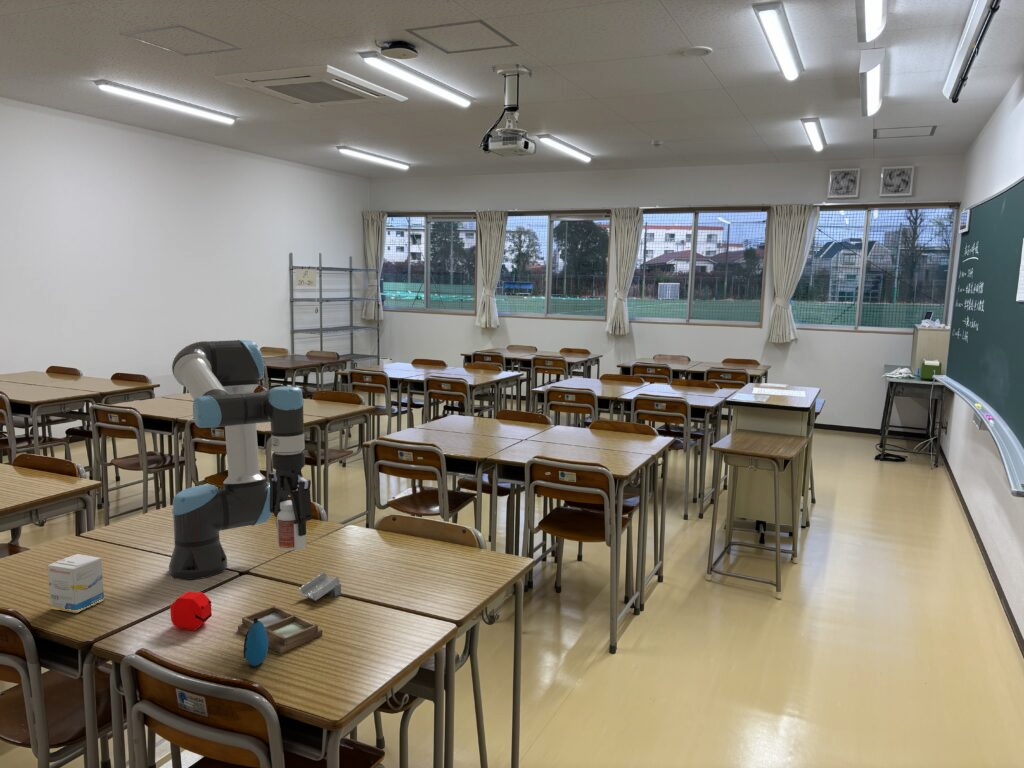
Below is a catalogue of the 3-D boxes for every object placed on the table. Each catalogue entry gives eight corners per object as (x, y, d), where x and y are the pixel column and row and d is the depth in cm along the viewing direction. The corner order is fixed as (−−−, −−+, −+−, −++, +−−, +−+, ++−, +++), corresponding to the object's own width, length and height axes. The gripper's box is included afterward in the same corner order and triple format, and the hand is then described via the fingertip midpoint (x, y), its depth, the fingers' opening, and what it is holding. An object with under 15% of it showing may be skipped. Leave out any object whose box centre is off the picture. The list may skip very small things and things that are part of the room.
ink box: (105, 601, 182) (102, 556, 180) (75, 615, 174) (72, 568, 172) (80, 596, 185) (77, 552, 183) (49, 609, 177) (46, 564, 175)
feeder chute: (299, 599, 184) (298, 580, 183) (326, 588, 190) (326, 570, 190) (313, 605, 180) (313, 586, 179) (341, 594, 187) (340, 576, 186)
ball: (197, 635, 164) (195, 603, 163) (165, 632, 165) (163, 601, 164) (217, 620, 172) (215, 589, 171) (186, 617, 173) (185, 587, 172)
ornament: (250, 653, 156) (248, 610, 155) (272, 652, 156) (270, 609, 155) (239, 673, 148) (237, 627, 146) (262, 672, 148) (261, 626, 147)
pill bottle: (308, 548, 173) (306, 503, 171) (282, 552, 169) (281, 507, 168) (300, 540, 178) (298, 497, 177) (275, 545, 174) (273, 501, 173)
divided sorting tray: (237, 630, 166) (237, 619, 166) (279, 614, 175) (278, 603, 175) (280, 653, 156) (280, 641, 156) (322, 634, 165) (322, 623, 164)
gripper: (251, 449, 174) (255, 541, 176) (299, 459, 162) (302, 558, 165) (278, 444, 180) (281, 533, 182) (326, 454, 168) (329, 549, 171)
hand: (291, 545), depth 173 cm, fingers closed on pill bottle, 6 cm apart
